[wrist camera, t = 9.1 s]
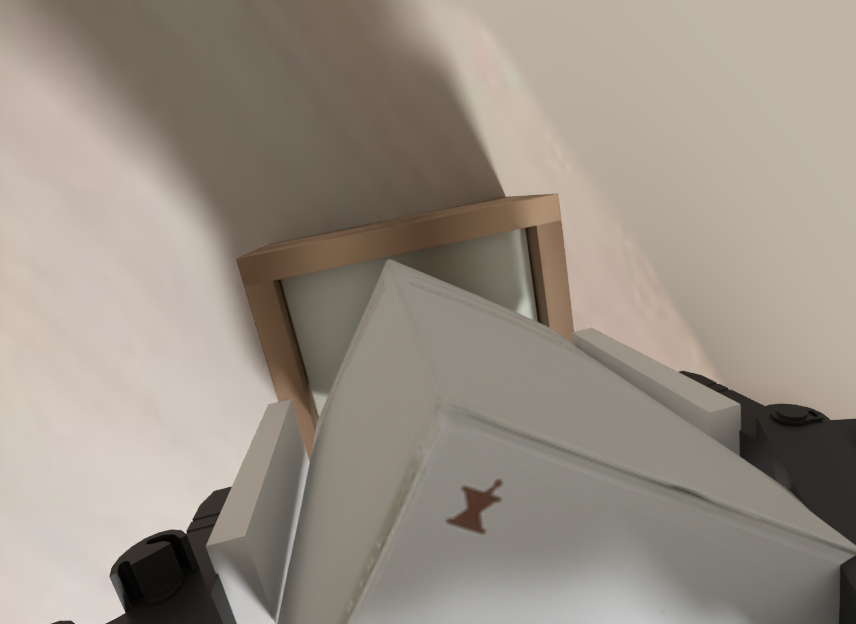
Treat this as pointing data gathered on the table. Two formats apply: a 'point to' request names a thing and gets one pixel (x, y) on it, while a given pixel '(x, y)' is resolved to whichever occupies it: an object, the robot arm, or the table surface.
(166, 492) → the table surface
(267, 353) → the brown square open box
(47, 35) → the table surface
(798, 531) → the supplement box
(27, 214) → the table surface
